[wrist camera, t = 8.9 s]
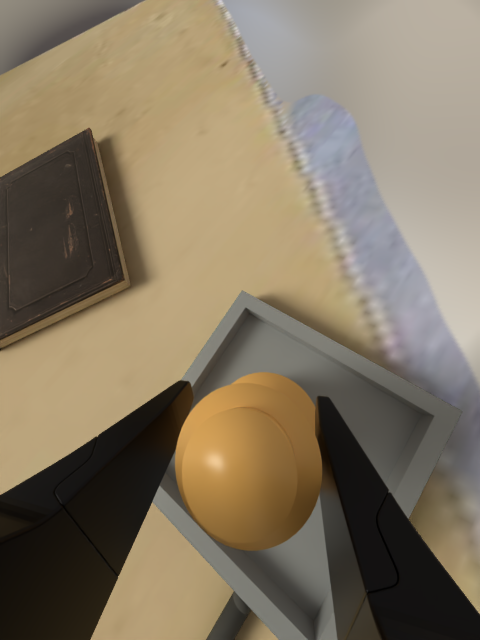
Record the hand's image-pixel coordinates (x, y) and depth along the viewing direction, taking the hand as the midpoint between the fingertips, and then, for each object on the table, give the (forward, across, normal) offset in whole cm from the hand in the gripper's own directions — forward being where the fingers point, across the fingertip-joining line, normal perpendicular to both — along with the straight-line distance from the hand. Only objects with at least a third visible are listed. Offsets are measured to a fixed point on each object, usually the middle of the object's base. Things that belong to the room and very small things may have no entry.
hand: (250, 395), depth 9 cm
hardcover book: (+18, +26, -4) cm, 32 cm away
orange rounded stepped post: (+5, 0, +7) cm, 9 cm away
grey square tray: (+4, 0, +8) cm, 9 cm away
